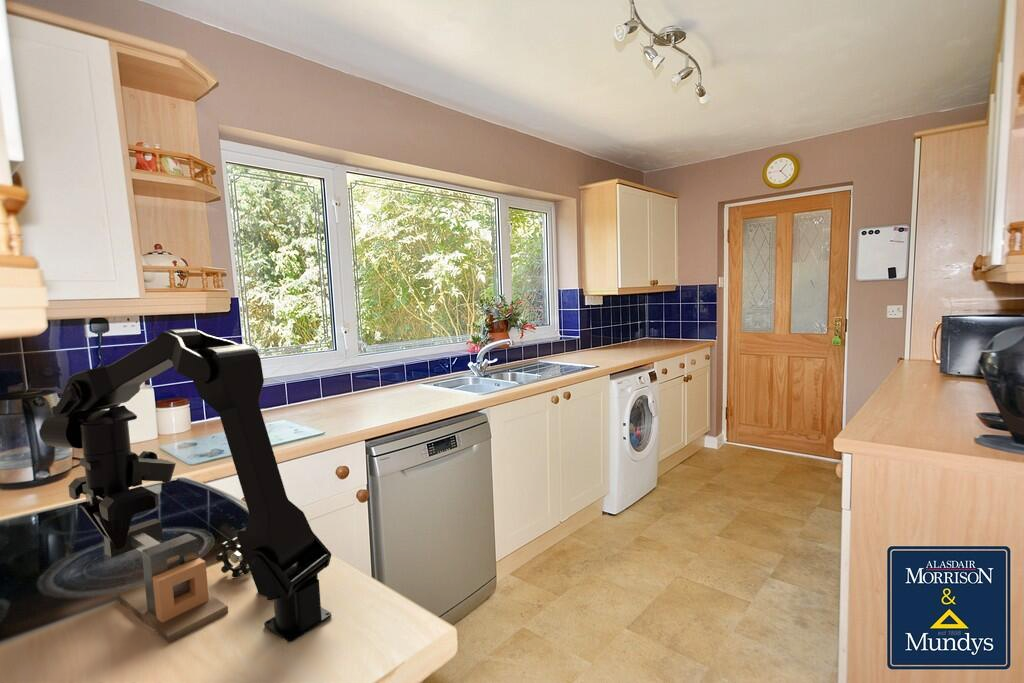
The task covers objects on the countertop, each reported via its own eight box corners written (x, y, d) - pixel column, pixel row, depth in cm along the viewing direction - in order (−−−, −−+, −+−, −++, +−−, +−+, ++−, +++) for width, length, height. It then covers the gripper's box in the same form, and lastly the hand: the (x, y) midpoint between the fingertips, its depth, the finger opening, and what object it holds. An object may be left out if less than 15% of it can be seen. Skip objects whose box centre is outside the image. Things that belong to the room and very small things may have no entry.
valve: (265, 541, 93) (217, 577, 81) (262, 508, 92) (213, 538, 81) (297, 543, 92) (252, 579, 80) (294, 509, 91) (249, 540, 80)
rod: (200, 560, 75) (198, 541, 74) (145, 583, 69) (143, 562, 69) (157, 535, 84) (155, 518, 83) (105, 553, 78) (103, 535, 78)
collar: (208, 600, 73) (205, 561, 72) (162, 622, 68) (158, 581, 68) (202, 595, 74) (199, 557, 74) (156, 617, 69) (152, 576, 69)
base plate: (228, 612, 72) (227, 605, 71) (168, 643, 65) (167, 636, 65) (174, 576, 82) (173, 570, 82) (118, 600, 75) (117, 593, 75)
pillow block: (202, 595, 74) (197, 538, 73) (156, 617, 69) (150, 556, 68) (193, 589, 76) (188, 533, 75) (147, 610, 71) (141, 550, 70)
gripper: (191, 444, 78) (199, 539, 79) (144, 430, 89) (152, 514, 90) (103, 465, 69) (115, 571, 70) (63, 446, 80) (73, 539, 81)
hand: (117, 545), depth 78 cm, fingers closed on rod, 2 cm apart
